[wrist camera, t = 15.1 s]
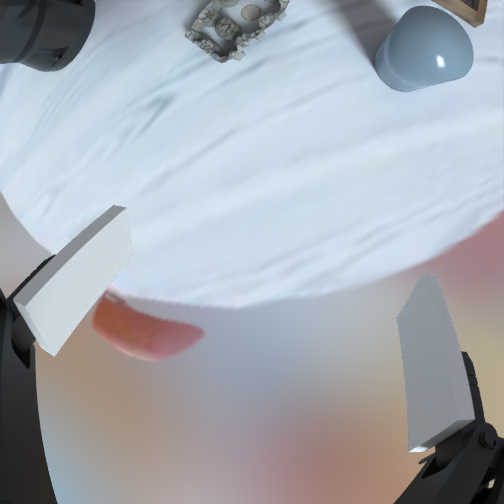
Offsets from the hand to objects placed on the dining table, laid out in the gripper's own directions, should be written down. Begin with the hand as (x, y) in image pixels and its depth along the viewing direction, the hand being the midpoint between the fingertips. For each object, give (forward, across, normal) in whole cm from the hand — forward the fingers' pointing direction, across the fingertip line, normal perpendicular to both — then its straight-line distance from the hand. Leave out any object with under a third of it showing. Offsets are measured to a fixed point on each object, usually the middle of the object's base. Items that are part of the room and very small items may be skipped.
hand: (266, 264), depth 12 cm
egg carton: (+25, -9, +13) cm, 29 cm away
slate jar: (+23, +9, +11) cm, 27 cm away
